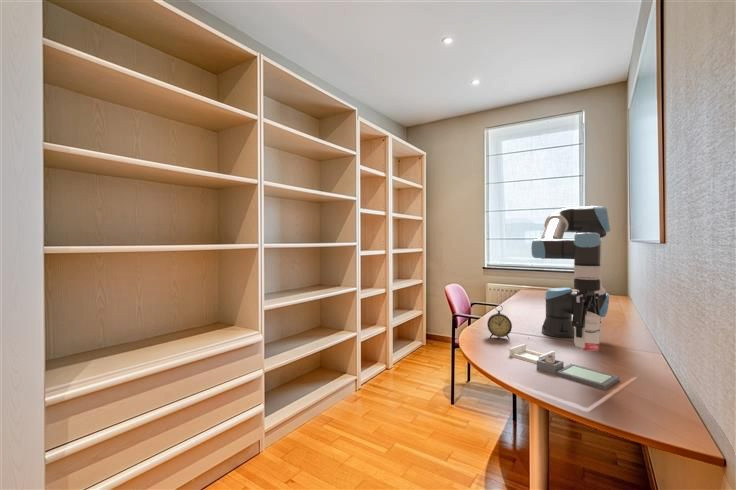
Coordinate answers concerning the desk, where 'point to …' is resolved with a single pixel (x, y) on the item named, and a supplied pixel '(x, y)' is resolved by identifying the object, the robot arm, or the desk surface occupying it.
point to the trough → (528, 354)
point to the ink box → (591, 332)
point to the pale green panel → (587, 374)
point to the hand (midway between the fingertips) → (586, 344)
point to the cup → (549, 365)
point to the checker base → (586, 381)
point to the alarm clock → (499, 324)
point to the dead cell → (550, 359)
